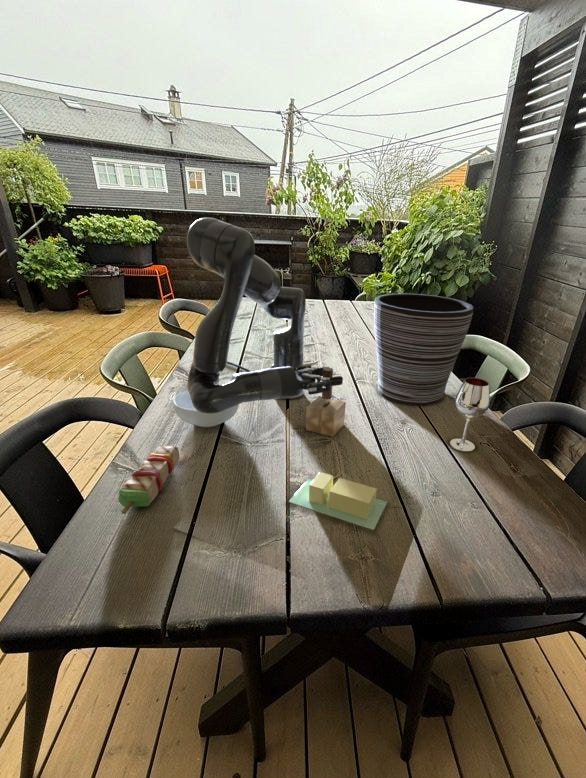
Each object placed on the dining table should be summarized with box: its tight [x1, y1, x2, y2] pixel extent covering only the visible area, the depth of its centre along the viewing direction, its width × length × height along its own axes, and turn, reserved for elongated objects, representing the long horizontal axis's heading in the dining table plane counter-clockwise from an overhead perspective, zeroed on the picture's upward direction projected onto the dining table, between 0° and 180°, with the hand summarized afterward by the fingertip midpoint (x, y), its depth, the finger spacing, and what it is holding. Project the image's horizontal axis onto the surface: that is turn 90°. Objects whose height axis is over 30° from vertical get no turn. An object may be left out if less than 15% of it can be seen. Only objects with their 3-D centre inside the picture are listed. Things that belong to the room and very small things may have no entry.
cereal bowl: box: [172, 389, 240, 428], centre depth 108 cm, size 17×17×7 cm
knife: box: [321, 366, 334, 407], centre depth 106 cm, size 3×3×17 cm
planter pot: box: [373, 293, 475, 407], centre depth 129 cm, size 30×30×30 cm
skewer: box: [118, 444, 180, 515], centre depth 81 cm, size 21×6×5 cm, turn 178°
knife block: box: [305, 395, 347, 438], centre depth 108 cm, size 8×8×7 cm
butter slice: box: [309, 471, 334, 505], centre depth 81 cm, size 3×5×4 cm, turn 157°
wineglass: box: [449, 377, 491, 453], centre depth 101 cm, size 8×8×18 cm
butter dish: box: [288, 477, 388, 531], centre depth 79 cm, size 18×9×5 cm, turn 67°
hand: (335, 375), depth 104 cm, fingers open, 6 cm apart
